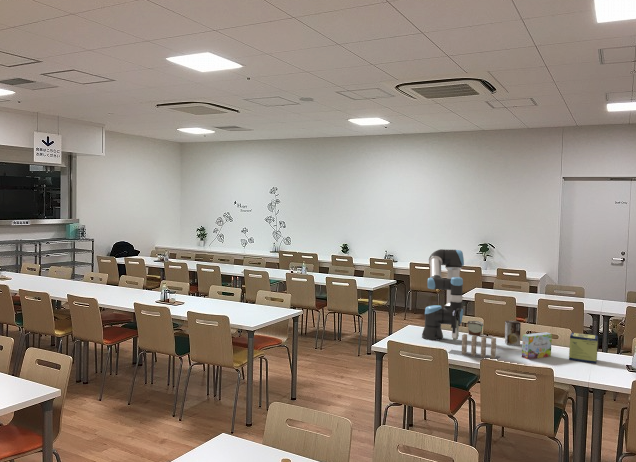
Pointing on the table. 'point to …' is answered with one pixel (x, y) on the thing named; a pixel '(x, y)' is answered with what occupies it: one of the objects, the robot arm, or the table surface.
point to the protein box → (583, 348)
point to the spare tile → (457, 332)
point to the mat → (470, 354)
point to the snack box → (536, 345)
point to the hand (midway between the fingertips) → (455, 337)
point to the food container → (475, 328)
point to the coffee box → (512, 332)
